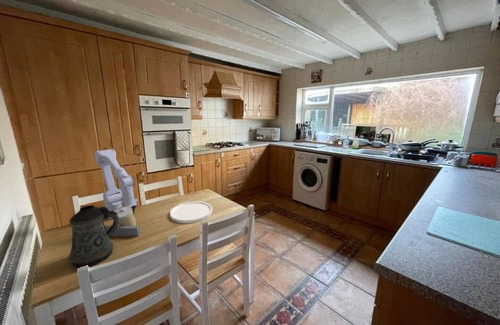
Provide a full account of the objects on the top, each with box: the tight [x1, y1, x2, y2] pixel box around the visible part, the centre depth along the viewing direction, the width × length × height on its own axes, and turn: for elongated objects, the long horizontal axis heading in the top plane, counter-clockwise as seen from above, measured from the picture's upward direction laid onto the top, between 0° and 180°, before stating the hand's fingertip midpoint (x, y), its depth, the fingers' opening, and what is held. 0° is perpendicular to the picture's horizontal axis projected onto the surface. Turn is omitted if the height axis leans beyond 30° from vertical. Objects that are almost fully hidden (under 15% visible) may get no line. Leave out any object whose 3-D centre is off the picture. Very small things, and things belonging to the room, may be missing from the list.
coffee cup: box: [115, 205, 137, 226], centre depth 117 cm, size 9×9×12 cm
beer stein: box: [68, 204, 119, 269], centre depth 95 cm, size 16×19×25 cm
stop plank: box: [105, 225, 141, 237], centre depth 113 cm, size 20×2×5 cm, turn 90°
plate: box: [169, 200, 213, 224], centre depth 140 cm, size 28×28×2 cm
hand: (131, 217), depth 123 cm, fingers closed, pressing on coffee cup
